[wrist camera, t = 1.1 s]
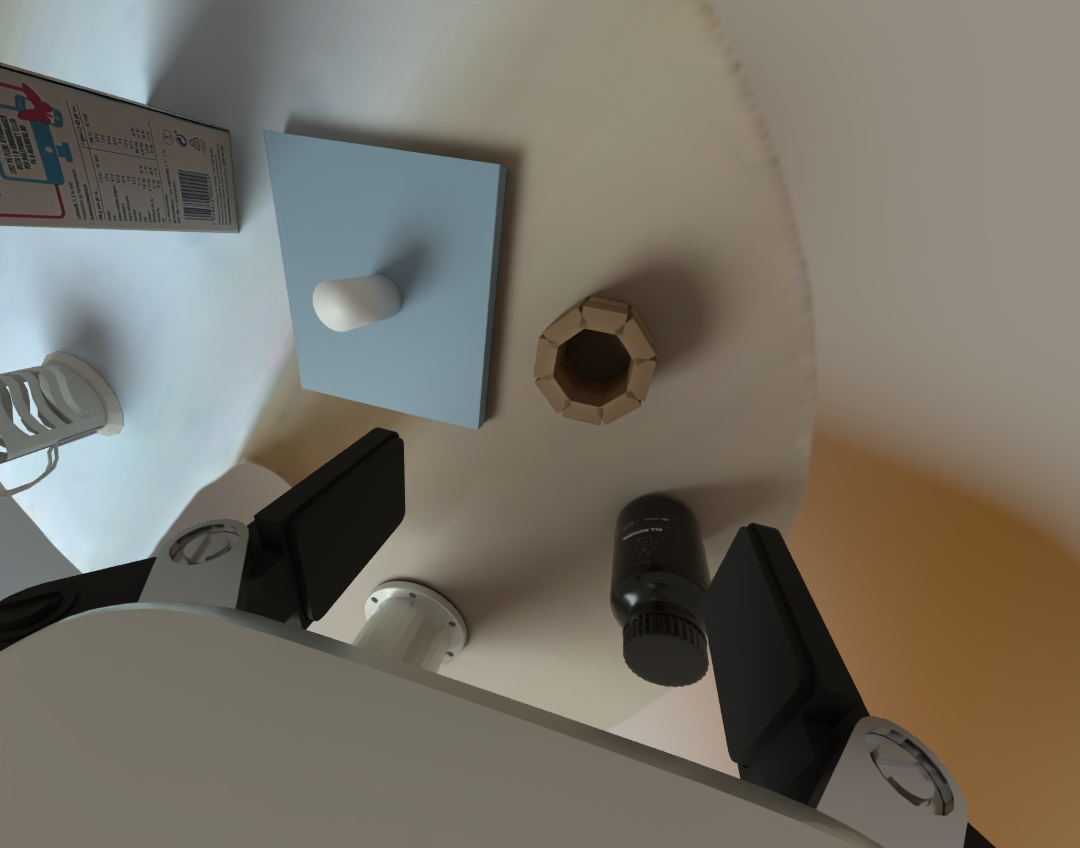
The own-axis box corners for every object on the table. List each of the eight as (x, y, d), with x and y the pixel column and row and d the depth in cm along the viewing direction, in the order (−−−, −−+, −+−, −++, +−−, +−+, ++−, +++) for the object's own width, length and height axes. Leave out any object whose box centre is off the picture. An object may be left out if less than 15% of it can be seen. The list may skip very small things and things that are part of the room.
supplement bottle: (642, 479, 31) (647, 601, 20) (716, 518, 31) (759, 660, 20) (600, 533, 34) (586, 663, 24) (667, 568, 34) (683, 714, 24)
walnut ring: (634, 404, 28) (635, 433, 24) (544, 384, 29) (528, 409, 25) (662, 308, 25) (668, 322, 21) (559, 290, 26) (544, 299, 22)
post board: (484, 422, 32) (451, 461, 26) (314, 382, 34) (250, 410, 28) (507, 168, 24) (467, 144, 18) (282, 136, 26) (182, 105, 20)
